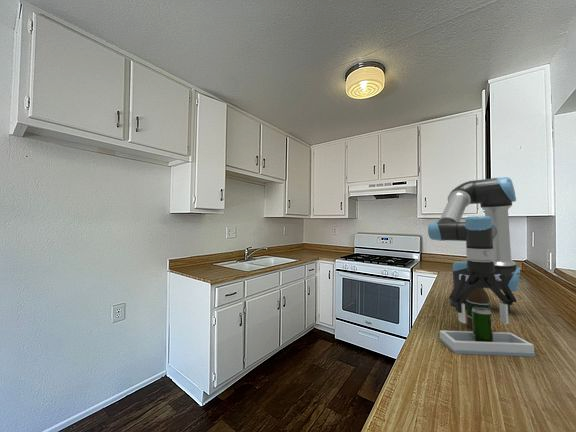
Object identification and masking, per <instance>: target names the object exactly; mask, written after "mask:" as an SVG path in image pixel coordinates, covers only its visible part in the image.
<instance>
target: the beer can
mask: <svg viewBox="0 0 576 432" xmlns="http://www.w3.org/2000/svg"><path fill="white" fill-rule="evenodd" d="M492 319H493V316H492V311H491V308H490V309H488V308H484V307H472V324H473V329H472V331H473V340H474V341H477V342H493V332H494V331H493V320H492Z"/></svg>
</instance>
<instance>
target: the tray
mask: <svg viewBox="0 0 576 432" xmlns="http://www.w3.org/2000/svg"><path fill="white" fill-rule="evenodd" d="M438 339H439V341H440V342H442V344H444V345H445V346H446V348H448V349H449V350H451V351H452V352H453V354H456V355H458V354H460V355H477V356H478V355H479V356H481V355H485V356H501V357H502V356H505V357H530V358H536V353H535V345H534V344H533V343H531V342H529V341H527V340H525V339H524V338H522V337H519V336H518V335H516V334H514V333H512V332H503V331H501V332H498V331H493V342H477V341H474V340H473V330H472V331H471V330H441V329H440V330H439V338H438Z"/></svg>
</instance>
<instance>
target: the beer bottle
mask: <svg viewBox="0 0 576 432" xmlns="http://www.w3.org/2000/svg"><path fill="white" fill-rule="evenodd" d="M466 303H467V309H466V321H467V322H466V323H467V327H468V328H469V329H471V330H473V324H472V307H484V308H488V309H490V310H491V302H490V297H489V295H488V292H487V291H486V290H485V288H476V289H474V290H473V291H472V292H471V293H470V294H469V295H468V297H467V298H466Z"/></svg>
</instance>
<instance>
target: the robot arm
mask: <svg viewBox="0 0 576 432" xmlns="http://www.w3.org/2000/svg"><path fill="white" fill-rule="evenodd" d="M515 191H516V190H515V186H514V184H513V180H512V179H511V178H510V177H507V176H506V177H505V176H503V177H491V178H484V179H477V180H476V179H475V180H469V181H466V182H463V183H461V184H459V185H458V186H456V187H455V188H453V189H452V190H451V191H449V194H448V196H447V203H446V205H445V207H444V209H443V212H442V213H441V216H440V218H439V219H438V221H435V222H434V221H433V222H430V223H429V224H428V226H427V234H428V238H429V239H430V240H431V241H432V240H434V241H440V242H441V241H455V242H456V241H460V242H464V241H465V242H466V243H465V245H466V248H465V249H466V251H465V252H466V253H465V254H466V259H467V260H461V261H454V263H453V264H452V270H451V271H452V282H453V284H452V285H453V287H452V288H453V289H452V291H451V293H450V295H449V296H448V299H449V304H450V305H451V306H453V307H455V311H456V312H457V314H458V316H457V317H458V321H459V322H460V323H462V324H466V323H467V322H466V310H467V303H466V298H467V297H468V295H469V294H470V293H471V292H472V291H473V290H474V289H476V288H484V289H489V290H490V291H492V292H493V294H494V295H496V296H497V298H498V299H499V300H500V301H499V302H498V303H499V320H500V322H501V323H503V324H505V325H509V324H510V323H509V322H510V320H509V314H511V306H512V305H513V303H516V302H517V298H516V296H515V294H514V293H513V292H516V291H517V290H518V289H519V282H520V276H521V274H520V273H521V267H519V266H517V264H516V262H515V261H514V260H513V259H512V248H511V236H510V235H511V234H510V220H509V218H510V217H509V209H510V208H511V207H512V206H513V203H515V202H516V201H517V197H516V192H515ZM473 204H474V205H476V204H480V208H481V209H482V210H483V211H484V215H479V216H478V215H476V216H475V215H474V216H473V215H472V216H470V215H469V216H467V217H465V219H464V221H461V220H462V217H463V215H464V212H465V211H466V208H467V207H468V206H469V205H473Z"/></svg>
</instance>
